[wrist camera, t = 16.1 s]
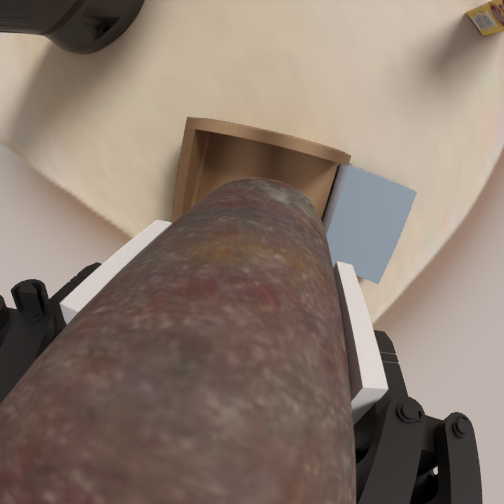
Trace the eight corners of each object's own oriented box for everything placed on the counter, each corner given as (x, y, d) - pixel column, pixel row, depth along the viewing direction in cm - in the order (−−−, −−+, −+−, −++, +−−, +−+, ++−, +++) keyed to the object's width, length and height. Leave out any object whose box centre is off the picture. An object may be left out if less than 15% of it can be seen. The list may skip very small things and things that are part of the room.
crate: (188, 230, 34) (168, 251, 29) (206, 118, 28) (187, 117, 22) (305, 261, 33) (306, 288, 28) (340, 150, 27) (351, 155, 22)
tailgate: (308, 260, 32) (377, 285, 30) (340, 160, 26) (417, 190, 25) (310, 256, 33) (376, 280, 31) (340, 160, 27) (414, 188, 26)
